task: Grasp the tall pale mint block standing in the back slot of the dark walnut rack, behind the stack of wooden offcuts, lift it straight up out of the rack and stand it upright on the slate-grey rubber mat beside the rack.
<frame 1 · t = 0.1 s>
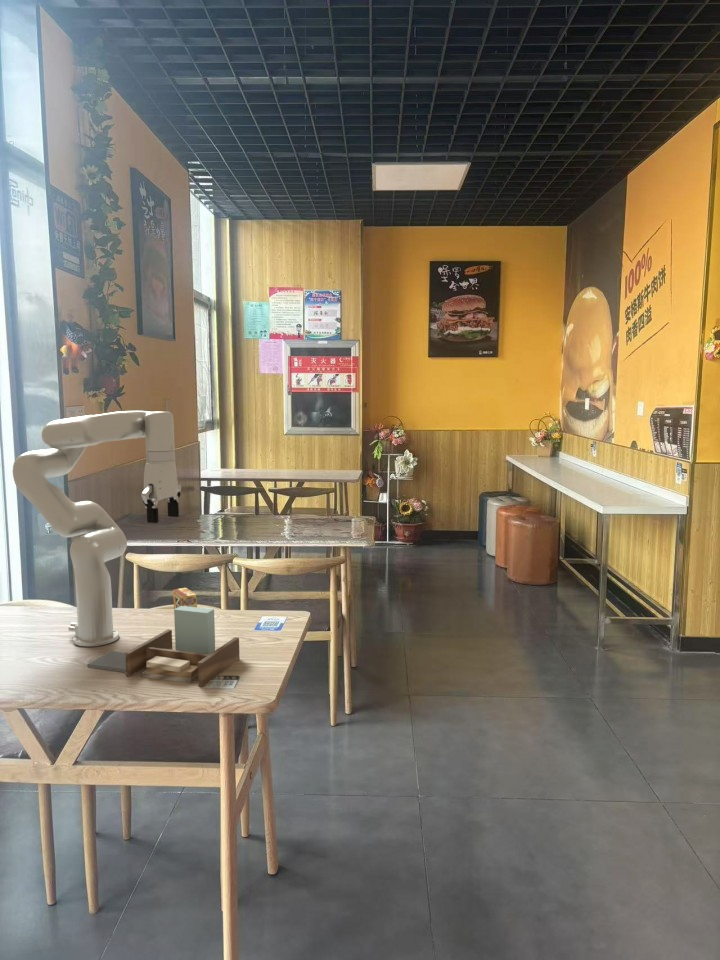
hand: (163, 519, 197), 37 cm above the table, tool pointing down, fingers open, 9 cm apart
offcut stack: (171, 677, 182), on the table
pale mint block: (195, 660, 193), on the table
rubber mat: (120, 662, 191), on the table
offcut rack: (184, 667, 188), on the table
candy box: (186, 644, 205), on the table
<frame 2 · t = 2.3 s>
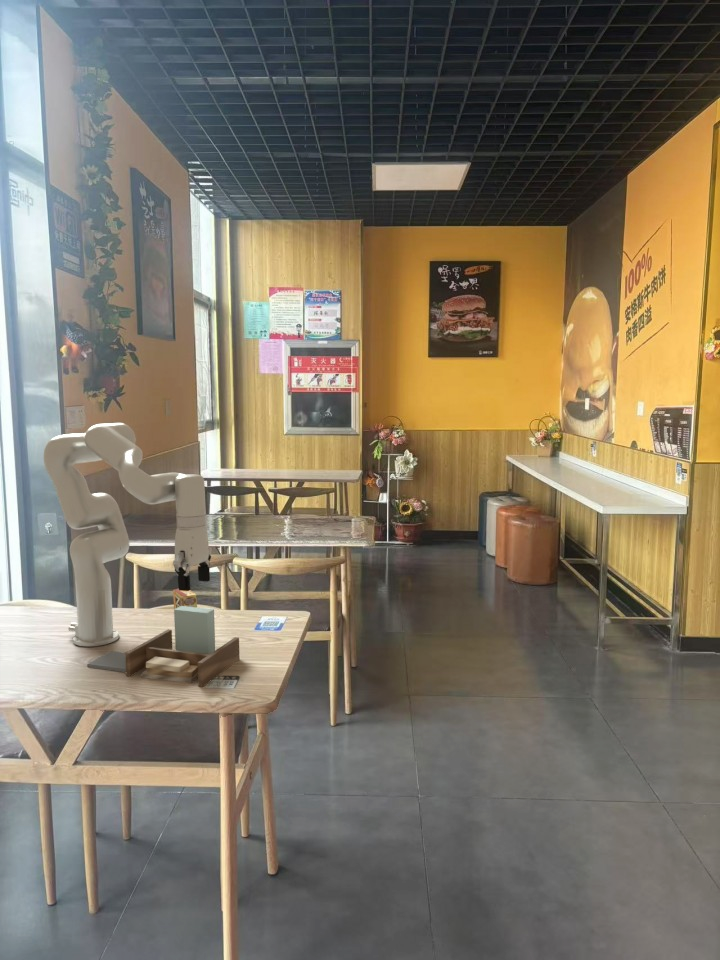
hand: (194, 585, 190), 21 cm above the table, tool pointing down, fingers open, 9 cm apart
nothing on the table moved.
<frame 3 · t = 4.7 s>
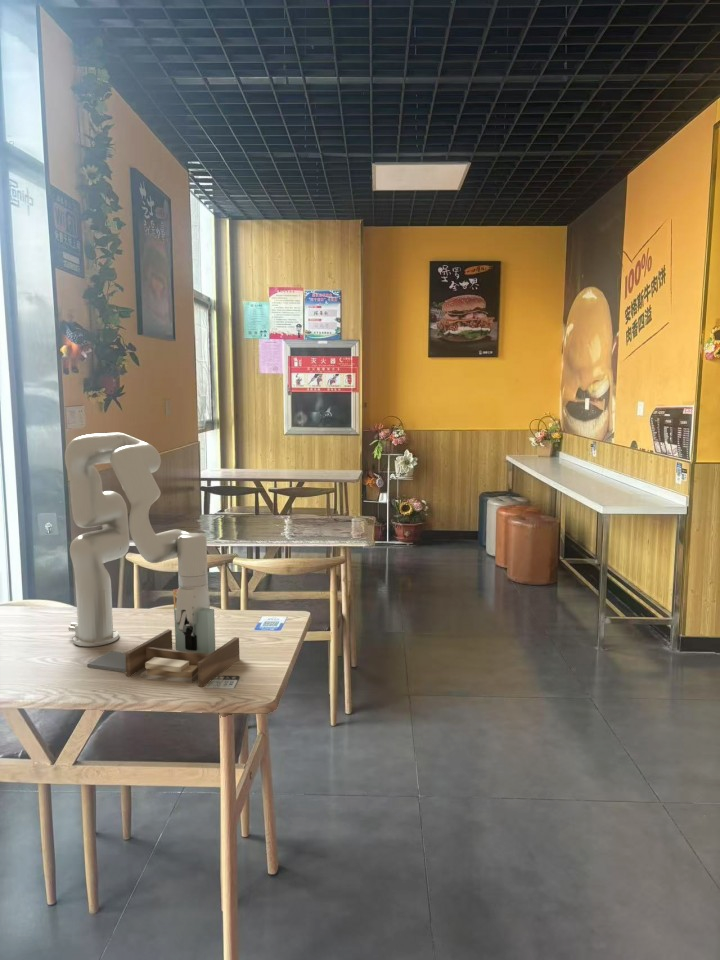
hand: (195, 646, 192), 4 cm above the table, tool pointing down, fingers closed on pale mint block, 3 cm apart
pale mint block: (195, 659, 193), on the table, touching gripper
everything else where it was.
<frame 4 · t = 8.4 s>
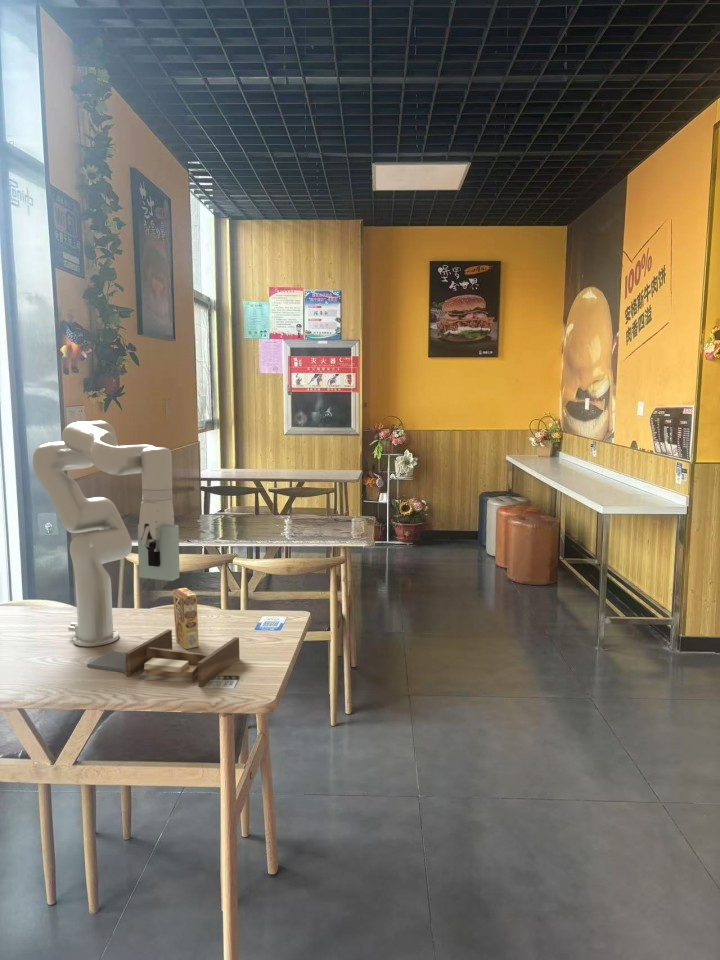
hand: (158, 563, 189), 27 cm above the table, tool pointing down, fingers closed on pale mint block, 3 cm apart
pale mint block: (159, 577, 189), point 23 cm above the table, touching gripper
everything else where it was.
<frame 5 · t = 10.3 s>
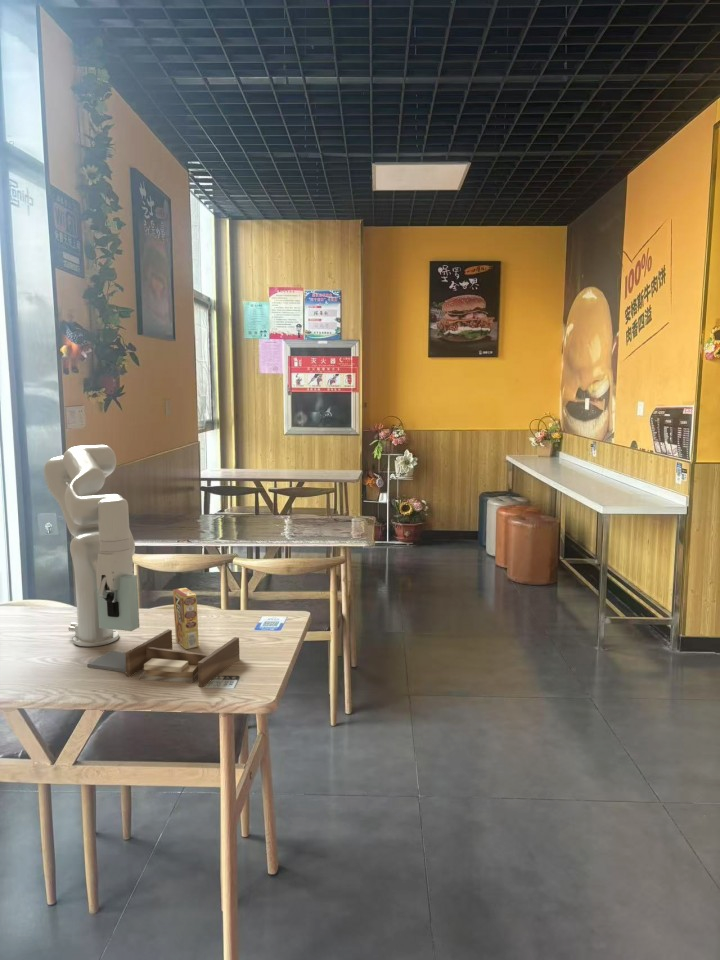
hand: (118, 613, 189), 14 cm above the table, tool pointing down, fingers closed on pale mint block, 3 cm apart
pale mint block: (119, 627, 189), point 10 cm above the table, touching gripper
everything else where it was.
when the fingers open (6 cm above the table, at t = 12.2 s): pale mint block stays where it is, resting on rubber mat.
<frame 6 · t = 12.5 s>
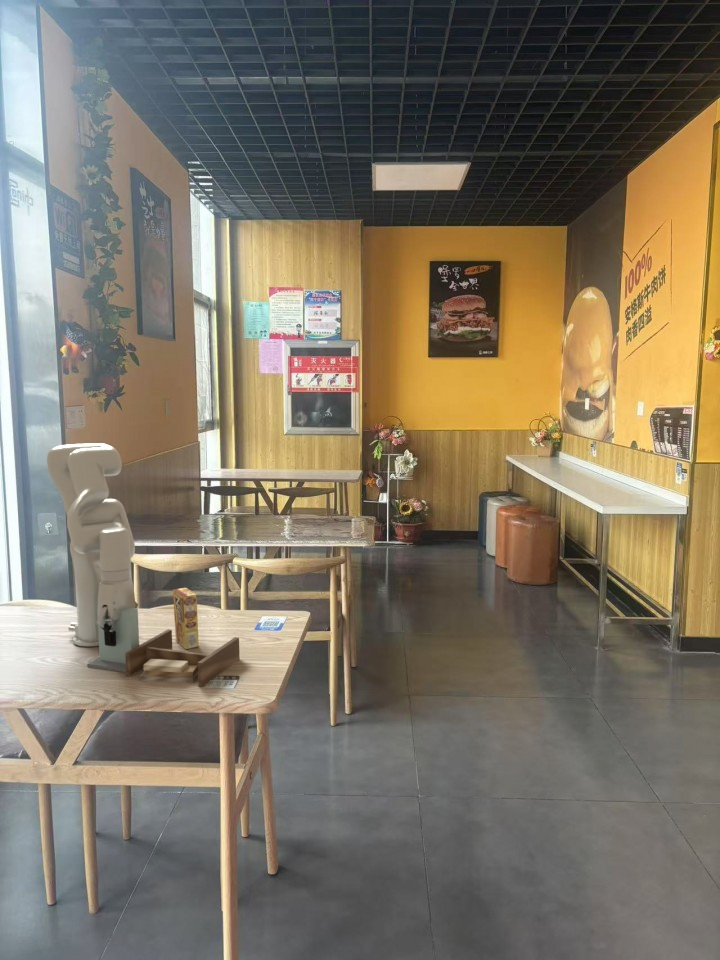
hand: (119, 640, 190), 6 cm above the table, tool pointing down, fingers open, 6 cm apart
pale mint block: (119, 659, 191), point 1 cm above the table, touching rubber mat
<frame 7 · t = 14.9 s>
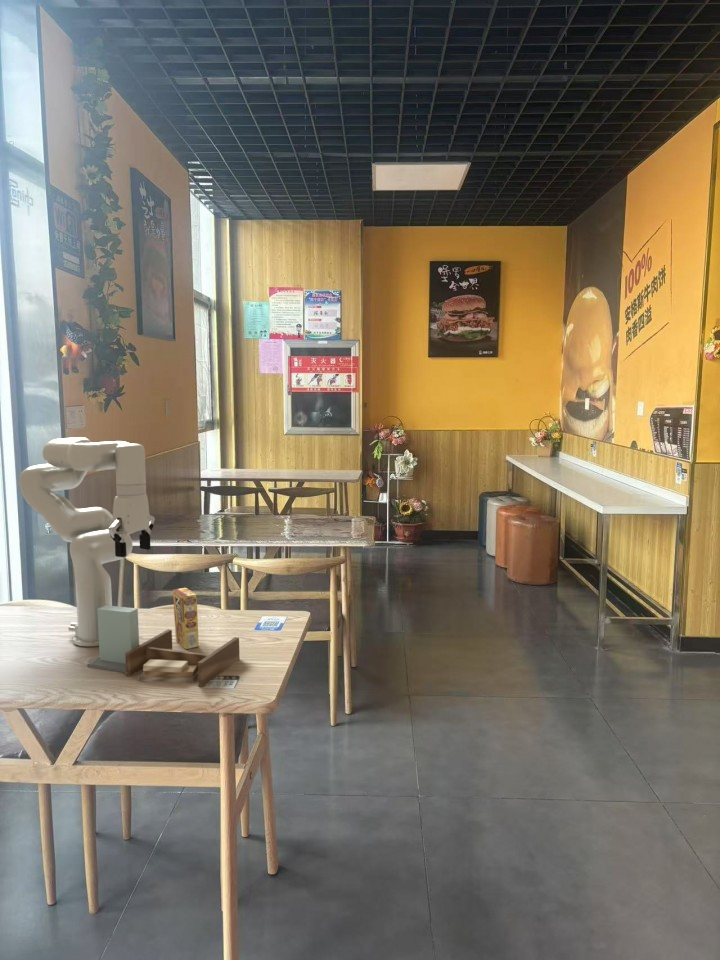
hand: (133, 552, 194), 28 cm above the table, tool pointing down, fingers open, 9 cm apart
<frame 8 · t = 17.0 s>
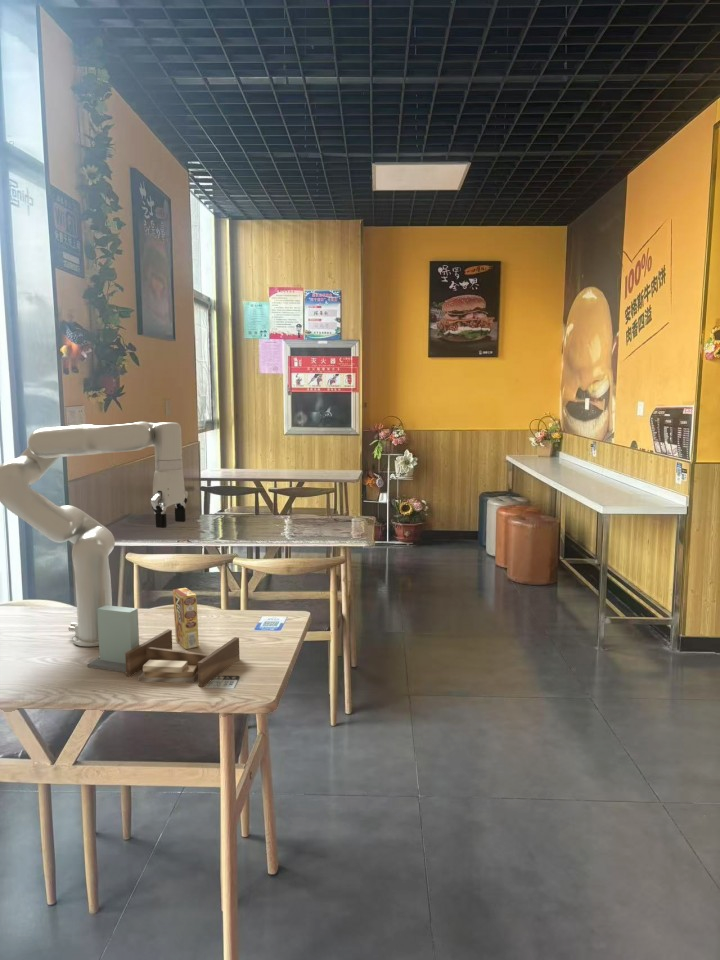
hand: (171, 524, 208), 33 cm above the table, tool pointing down, fingers open, 9 cm apart
at the end: pale mint block inside the target area on the rubber mat (0.1 cm from its centre), point 0.8 cm above the rubber mat's base; pale mint block tilted 0°; offcut stack moved 1.4 cm from its start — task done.
